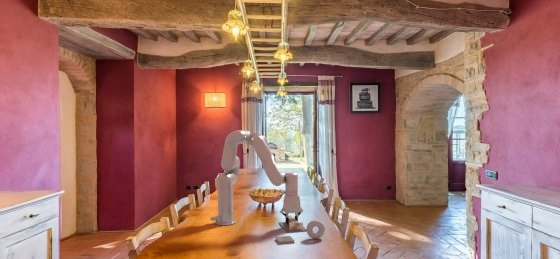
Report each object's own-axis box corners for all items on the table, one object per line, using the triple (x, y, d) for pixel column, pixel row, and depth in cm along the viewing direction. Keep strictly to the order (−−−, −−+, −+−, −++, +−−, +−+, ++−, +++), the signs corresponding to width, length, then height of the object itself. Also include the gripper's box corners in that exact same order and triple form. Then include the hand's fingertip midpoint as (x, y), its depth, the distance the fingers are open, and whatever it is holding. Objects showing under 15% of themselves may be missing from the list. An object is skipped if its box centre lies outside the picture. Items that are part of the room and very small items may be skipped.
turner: (289, 230, 192) (289, 223, 193) (282, 222, 209) (282, 215, 209) (303, 229, 194) (303, 222, 194) (294, 221, 211) (294, 215, 211)
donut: (324, 237, 181) (324, 219, 181) (325, 239, 177) (325, 220, 178) (306, 237, 181) (306, 219, 181) (306, 239, 177) (306, 220, 177)
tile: (275, 240, 178) (279, 245, 170) (275, 237, 178) (279, 241, 170) (290, 238, 180) (294, 243, 172) (290, 235, 180) (294, 240, 172)
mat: (287, 232, 190) (287, 231, 190) (278, 223, 209) (278, 222, 209) (307, 231, 193) (307, 230, 193) (297, 222, 212) (297, 221, 212)
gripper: (279, 195, 197) (279, 226, 197) (306, 193, 201) (307, 224, 201) (276, 192, 204) (276, 222, 204) (303, 191, 208) (303, 220, 208)
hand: (291, 223), depth 202 cm, fingers open, 4 cm apart
